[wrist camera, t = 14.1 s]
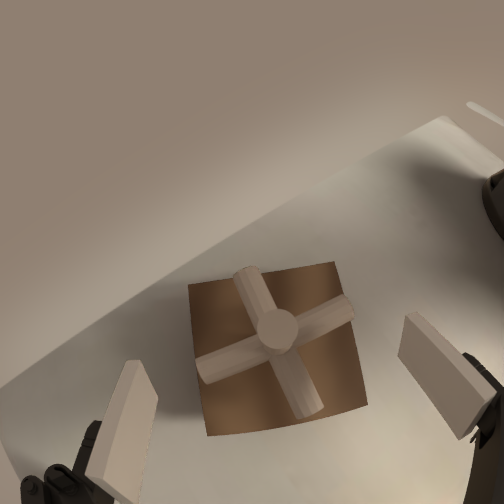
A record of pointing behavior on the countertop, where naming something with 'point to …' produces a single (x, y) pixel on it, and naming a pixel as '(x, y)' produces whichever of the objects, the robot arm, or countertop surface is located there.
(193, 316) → the walnut stand
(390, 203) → the countertop surface
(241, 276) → the pipe connector
